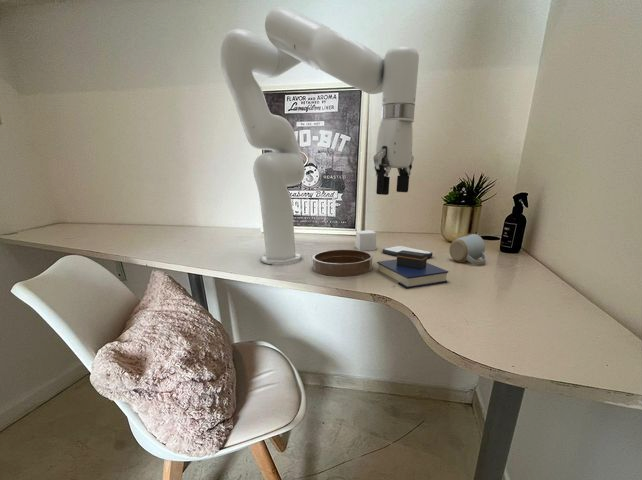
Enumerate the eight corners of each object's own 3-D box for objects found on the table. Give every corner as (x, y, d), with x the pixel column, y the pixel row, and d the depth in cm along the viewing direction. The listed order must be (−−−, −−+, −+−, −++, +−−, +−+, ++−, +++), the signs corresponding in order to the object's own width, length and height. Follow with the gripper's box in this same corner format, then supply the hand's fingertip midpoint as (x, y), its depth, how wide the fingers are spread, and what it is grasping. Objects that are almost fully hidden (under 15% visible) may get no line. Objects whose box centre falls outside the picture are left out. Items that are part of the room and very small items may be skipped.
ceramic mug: (446, 259, 105) (449, 235, 102) (463, 255, 109) (467, 232, 106) (473, 267, 97) (477, 241, 94) (491, 263, 101) (496, 238, 98)
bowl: (306, 265, 102) (305, 252, 100) (357, 259, 108) (357, 247, 106) (324, 281, 87) (323, 267, 86) (382, 273, 93) (383, 259, 91)
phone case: (380, 253, 116) (415, 261, 104) (380, 248, 115) (415, 256, 103) (399, 249, 120) (434, 257, 108) (399, 245, 120) (434, 252, 107)
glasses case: (396, 265, 90) (397, 252, 88) (401, 263, 92) (402, 250, 91) (421, 269, 86) (422, 256, 84) (426, 267, 88) (427, 253, 86)
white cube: (359, 250, 119) (359, 233, 116) (355, 247, 124) (355, 230, 122) (376, 249, 120) (376, 232, 117) (371, 246, 125) (371, 230, 123)
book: (376, 271, 95) (376, 261, 94) (412, 266, 99) (413, 257, 98) (406, 288, 81) (407, 277, 80) (447, 282, 85) (448, 271, 84)
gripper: (401, 119, 86) (396, 190, 93) (363, 112, 73) (360, 194, 80) (428, 117, 81) (421, 192, 89) (392, 109, 69) (387, 196, 76)
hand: (392, 193), depth 84 cm, fingers open, 9 cm apart
